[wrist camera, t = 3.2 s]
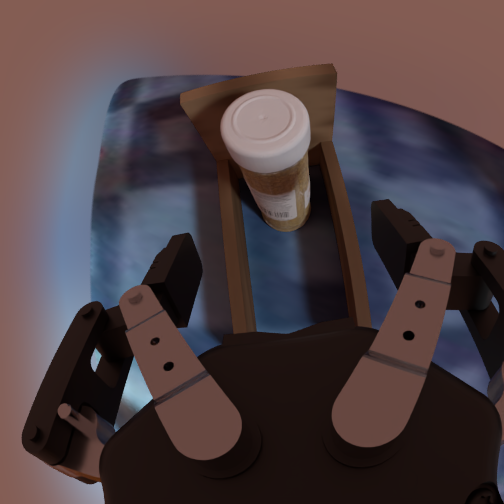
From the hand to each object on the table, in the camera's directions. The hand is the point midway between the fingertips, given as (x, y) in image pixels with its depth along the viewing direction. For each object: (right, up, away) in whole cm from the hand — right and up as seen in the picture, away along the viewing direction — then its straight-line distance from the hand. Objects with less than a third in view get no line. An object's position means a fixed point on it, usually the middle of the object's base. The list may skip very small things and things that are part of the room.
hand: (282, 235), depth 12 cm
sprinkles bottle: (+2, +3, +14) cm, 14 cm away
